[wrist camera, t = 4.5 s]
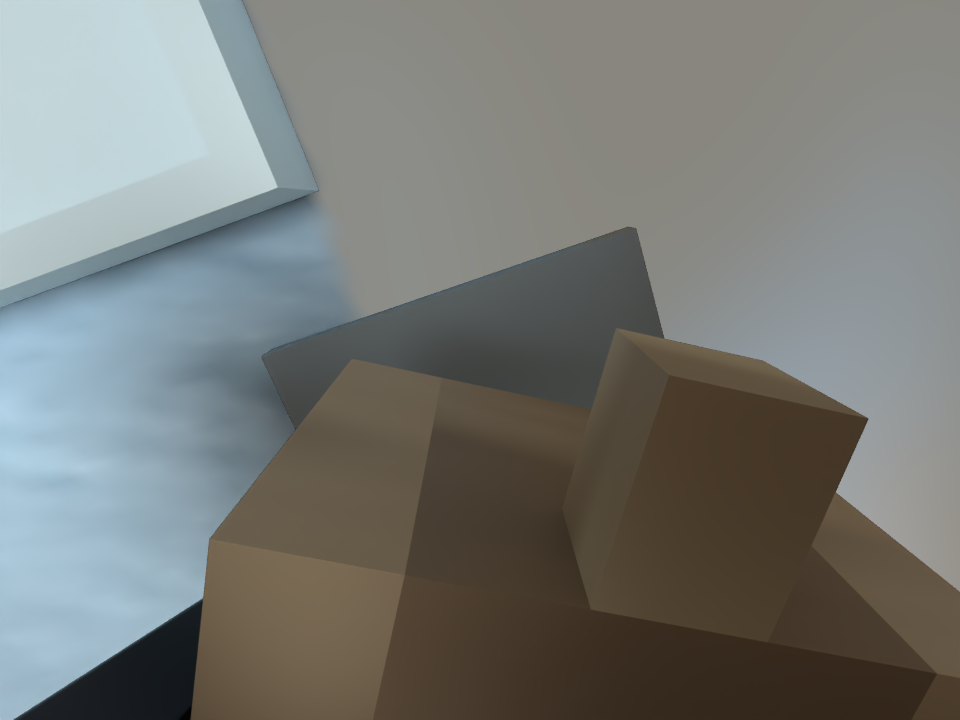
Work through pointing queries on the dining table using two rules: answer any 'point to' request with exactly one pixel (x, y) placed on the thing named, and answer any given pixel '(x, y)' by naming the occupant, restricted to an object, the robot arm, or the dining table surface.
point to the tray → (132, 133)
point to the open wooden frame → (571, 558)
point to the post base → (493, 329)
